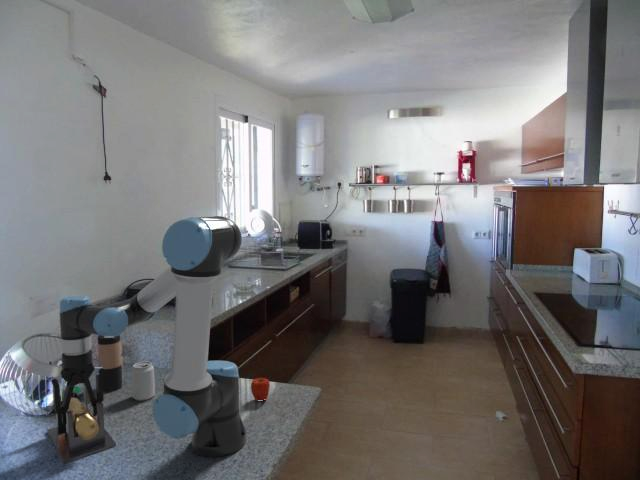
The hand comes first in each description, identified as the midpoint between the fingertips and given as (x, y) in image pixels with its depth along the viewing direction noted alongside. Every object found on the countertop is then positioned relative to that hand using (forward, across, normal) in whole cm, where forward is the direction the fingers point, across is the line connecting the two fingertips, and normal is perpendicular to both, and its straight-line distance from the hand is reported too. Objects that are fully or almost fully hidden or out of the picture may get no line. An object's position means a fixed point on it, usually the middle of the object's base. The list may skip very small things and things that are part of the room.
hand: (80, 430), depth 129 cm
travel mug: (+4, -18, -34) cm, 39 cm away
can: (+4, -24, -18) cm, 31 cm away
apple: (+3, -53, +12) cm, 55 cm away
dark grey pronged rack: (+4, 0, -2) cm, 4 cm away
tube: (-1, 0, 0) cm, 1 cm away
